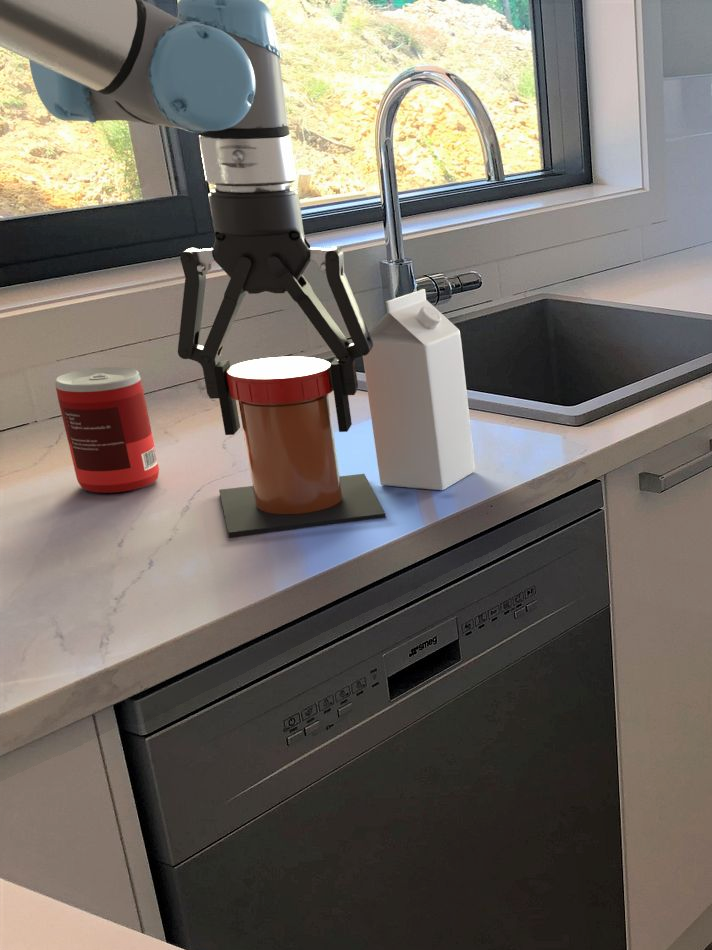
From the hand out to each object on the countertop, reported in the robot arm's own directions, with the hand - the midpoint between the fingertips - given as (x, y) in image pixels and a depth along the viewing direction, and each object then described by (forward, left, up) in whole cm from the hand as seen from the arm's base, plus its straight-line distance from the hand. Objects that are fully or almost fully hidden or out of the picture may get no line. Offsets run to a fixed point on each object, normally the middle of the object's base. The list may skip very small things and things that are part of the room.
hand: (289, 429), depth 134 cm
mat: (0, 0, -8) cm, 8 cm away
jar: (0, 0, -7) cm, 7 cm away
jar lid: (0, 0, +6) cm, 6 cm away
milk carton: (+13, +4, -8) cm, 16 cm away
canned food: (-16, +15, -8) cm, 23 cm away
